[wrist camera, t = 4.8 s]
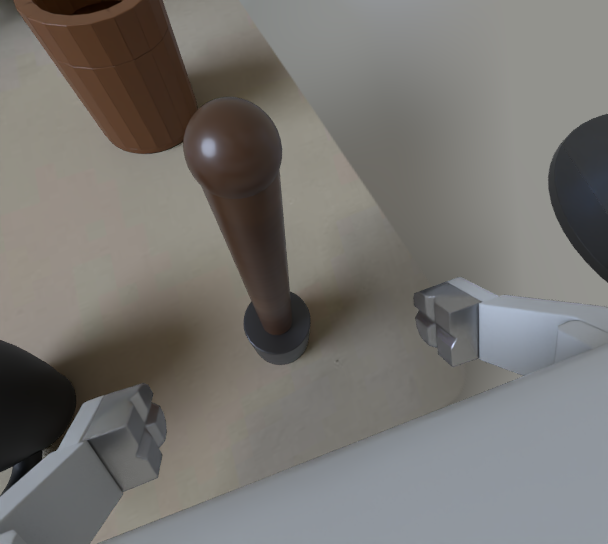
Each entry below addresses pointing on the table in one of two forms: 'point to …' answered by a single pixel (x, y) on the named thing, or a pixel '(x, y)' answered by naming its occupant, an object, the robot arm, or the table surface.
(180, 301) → the table surface
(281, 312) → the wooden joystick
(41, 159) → the table surface
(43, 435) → the mug
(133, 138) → the wooden mortar
